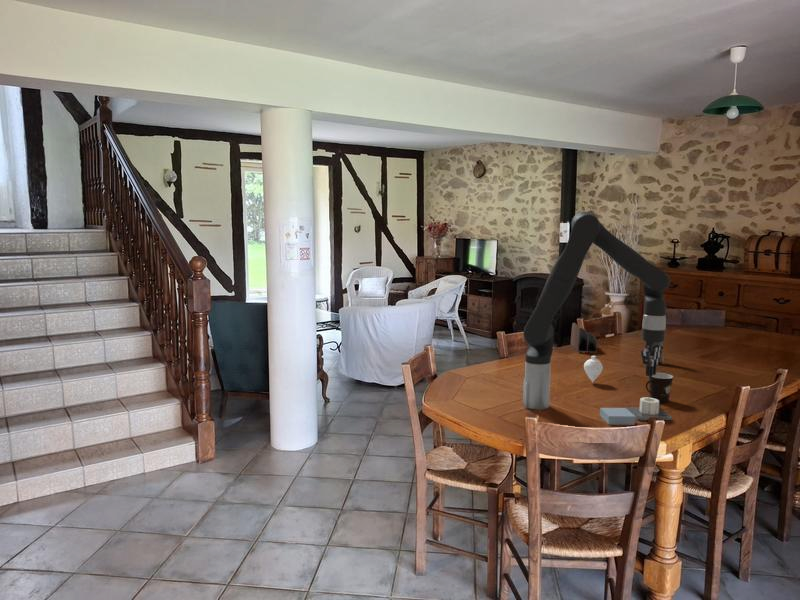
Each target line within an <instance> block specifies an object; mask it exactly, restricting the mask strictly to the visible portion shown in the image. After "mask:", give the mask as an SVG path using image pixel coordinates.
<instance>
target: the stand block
mask: <svg viewBox="0 0 800 600" xmlns="http://www.w3.org/2000/svg"><path fill="white" fill-rule="evenodd" d="M599 409H600V410H599V416H600V418H601V419H602V420H603V421H604V422H605V423H606V424H607V425H609V426H610V425H611V426H612V425H613V426H615V425H616V426H621V425H622V426H635V425H636V419H635V416H634V415H633V414H632V413H631V412H630V411H628V410H627V407H599Z"/></svg>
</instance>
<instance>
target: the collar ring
mask: <svg viewBox="0 0 800 600" xmlns="http://www.w3.org/2000/svg"><path fill="white" fill-rule="evenodd" d="M639 407H640V409H639V411H640V412H641V413H644V414H650V415H655V414H658V413H659V407H660V403H659V400H657V399H655V398H650V397H647V396H646V397H645V396H644V397H640V399H639Z"/></svg>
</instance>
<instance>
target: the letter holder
mask: <svg viewBox="0 0 800 600" xmlns="http://www.w3.org/2000/svg"><path fill="white" fill-rule="evenodd" d="M570 333H571V334H570V346H571V345H572V346H571V347H572V348H573V347H574V348H575V349H576V350H575V349H574V348H573V349H574V350H575V351H576V353H577V352H589V353H588V354H597V353H598V352H597V348H598V347H597V346H598V345H597V344H598V342H597V338H596V336H595V335H594V334H593V332H587V331H586V329H585V328H583V327H580V326H579V325H578V324H577V323H576V322H572V325H571V332H570Z"/></svg>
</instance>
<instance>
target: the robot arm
mask: <svg viewBox="0 0 800 600" xmlns="http://www.w3.org/2000/svg"><path fill="white" fill-rule="evenodd" d="M570 226H571V232H570V233H569V234H570V235H569V238H568V240H567V243H566V246H565V247H564V250H563V251H562V253H561V254H560V255H559V257H558V258H557V260H556V262H555V263H554V264H553V266H552V268H551V270H550V273H549V274H548V276H547V279H546V281H545V284H544V286H543V289H542V292H541V293H540V296H539V299H538V301H537V304H536V306H535V308H534V310H533V311H532V314H531V315H530V317H529V319H528V320H527V322H526V324H525V326H524V327H523V338H524V340H525V342H526V343H527V344H528V348H527V351H526V353H525V360H524V361H525V362H524V379H523V380H522V381H523V382H522V384H523V385H522V386H523V387H522V405H523V406H524V408H525V409H531V410H538V411H539V410H540V411H541V410H546V409H548V408H549V407H550V383H551V362H552V361H551V358H552V355H553V351H554V350H553V349H554V336H555V335H554V326H553V325H552V322H553V319H554V317H555V316H556V313H557V312H558V311H559V310H560V308H561V307H562V305H563V304H564V303H565V301H566V300H567V298H568V297H569V295H570V294H571V292H572V289H573V287H574V285H575V284H576V281H577V278H578V276H579V273H580V271H581V268H582V265H583V263H584V260H585V257H586V256H587V254H588V251H589V250H590V248H591V247H592V245H596V247H598V248H599V249H601V250H602V251H603V252H604V253H605V254H606V255H608V257H610V259H612V260H613V262H615V263H616V264H617V265H619V266H620V267H621V269H623V270H624V271H626V272H627V273H629V274H630V275H632V276H633V277H635V278H638V279H639V280H640V281H642V289H643V290H642V292H643V298H644V305H643V306H644V307H643V317H642V323H641V327H642V328H641V340H642V341H644V342H645V346H644V350H643V349H641V351H640V354H641V359H642V363H643V365H645V376H647V377H649V376H650V377H651V376H653V375H656V373H657V368H658V367H657V366H658V365H659V363H660V359H661V355H662V351H663V352H664V345H663V346H660V342H663V343H664V342H665V340H666V328H667V327H666V326H667V319H666V312H667V301H666V299H665V297H664V292H665V291H666V290H668V289H669V288H670V286H671V278H670V276H669V275H668V274H667V273H666V272H665V271H664V270H662V269H661V268H659V267H658V266H656V265H654V264H653V263H652V262H649V261H648V259H646V258H645V257H644V256H642V255H641V254H639V252H637V251H636V250H634V249H633V248H632V247H631V246H629V245H627V244H626V243H625V242H623V241H622V240H620V239H619V238H618V237H616V236H615V235H614V234H612V233H611V232H610V231H609V230H608V229H607V228H606V227H605V225H603V224H602V223H601V221H600V220H599V218H598V216H596V215H595V214H593V213H592V212H590V211H581V212H579V213H576V214H575V215H574V216H573V218H572V219H571V224H570Z"/></svg>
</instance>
